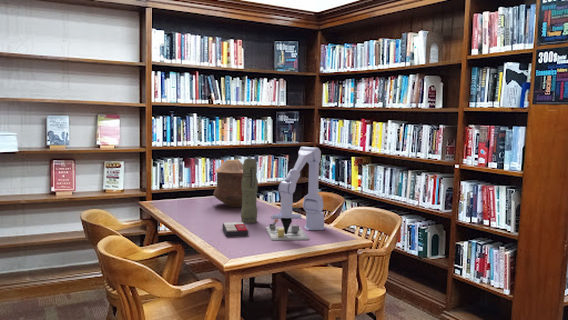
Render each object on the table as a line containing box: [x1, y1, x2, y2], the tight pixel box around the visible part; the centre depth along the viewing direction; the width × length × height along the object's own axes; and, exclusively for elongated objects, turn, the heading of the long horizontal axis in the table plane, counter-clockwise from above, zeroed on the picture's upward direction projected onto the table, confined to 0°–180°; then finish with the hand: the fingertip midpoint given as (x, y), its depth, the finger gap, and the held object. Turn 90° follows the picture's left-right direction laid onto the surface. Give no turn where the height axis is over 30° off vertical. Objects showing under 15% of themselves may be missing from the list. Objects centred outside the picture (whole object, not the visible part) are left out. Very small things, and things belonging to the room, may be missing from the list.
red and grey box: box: [222, 221, 249, 238], centre depth 231 cm, size 11×4×15 cm
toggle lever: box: [272, 219, 279, 226], centre depth 237 cm, size 2×3×5 cm, turn 10°
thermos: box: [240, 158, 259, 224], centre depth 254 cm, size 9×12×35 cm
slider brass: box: [277, 228, 284, 236], centre depth 222 cm, size 3×3×3 cm
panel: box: [265, 223, 309, 241], centre depth 231 cm, size 18×22×3 cm
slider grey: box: [290, 224, 299, 232], centre depth 231 cm, size 3×3×3 cm
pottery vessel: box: [212, 159, 243, 208], centre depth 296 cm, size 26×26×30 cm
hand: (285, 233), depth 223 cm, fingers closed
